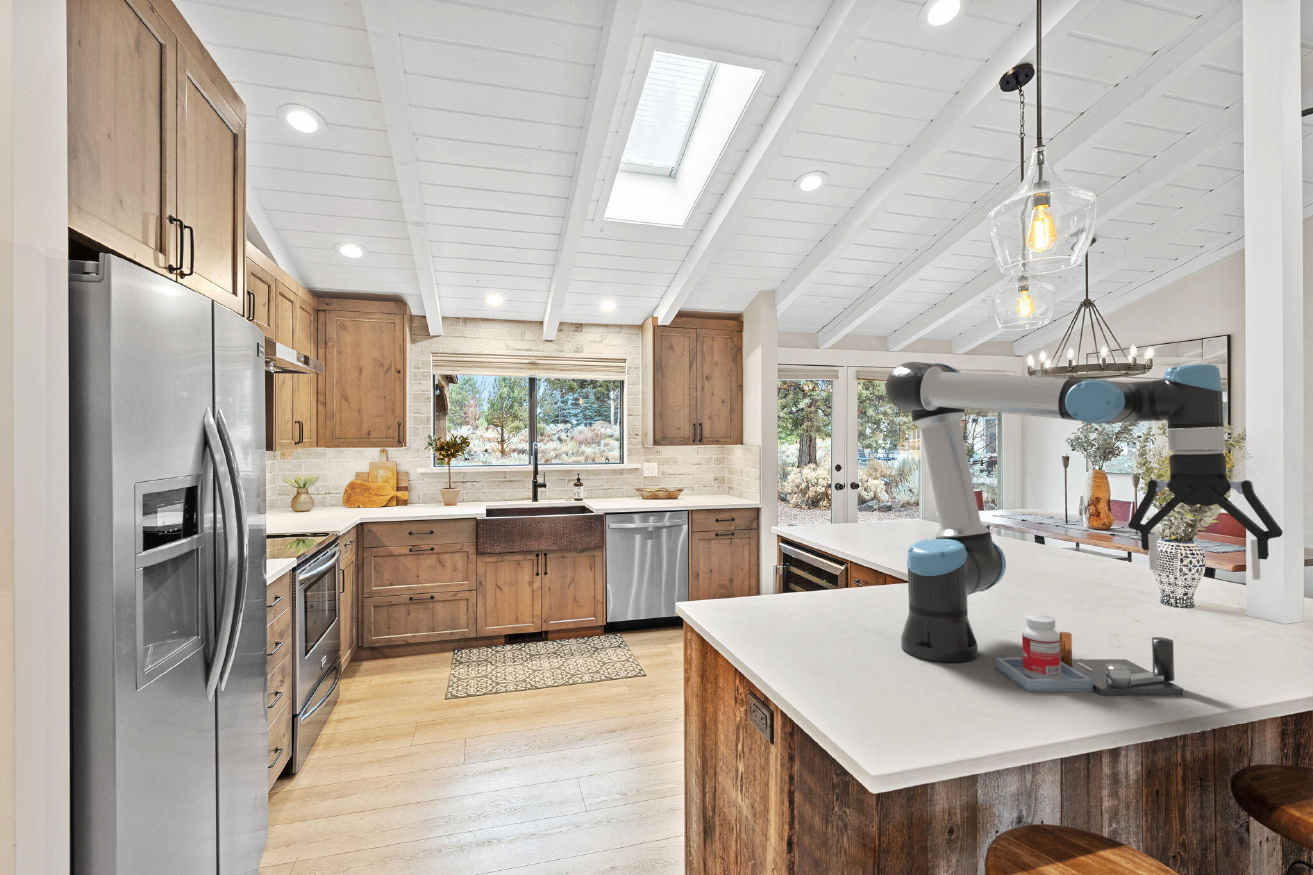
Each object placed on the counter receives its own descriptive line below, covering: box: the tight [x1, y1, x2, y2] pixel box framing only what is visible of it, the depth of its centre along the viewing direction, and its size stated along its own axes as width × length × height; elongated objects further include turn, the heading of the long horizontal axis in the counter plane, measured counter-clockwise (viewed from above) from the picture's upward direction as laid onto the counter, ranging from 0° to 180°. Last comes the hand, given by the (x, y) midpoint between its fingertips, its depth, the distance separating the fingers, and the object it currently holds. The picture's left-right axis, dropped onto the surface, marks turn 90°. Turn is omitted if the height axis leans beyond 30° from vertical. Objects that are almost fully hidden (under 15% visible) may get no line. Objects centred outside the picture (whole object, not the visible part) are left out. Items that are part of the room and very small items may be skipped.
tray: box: [995, 657, 1094, 693], centre depth 118 cm, size 12×12×2 cm
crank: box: [1106, 636, 1175, 688], centre depth 112 cm, size 13×4×7 cm, turn 102°
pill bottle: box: [1021, 614, 1061, 679], centre depth 118 cm, size 6×6×11 cm
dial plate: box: [1058, 631, 1184, 697], centre depth 117 cm, size 14×14×7 cm
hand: (1203, 573), depth 109 cm, fingers open, 13 cm apart
